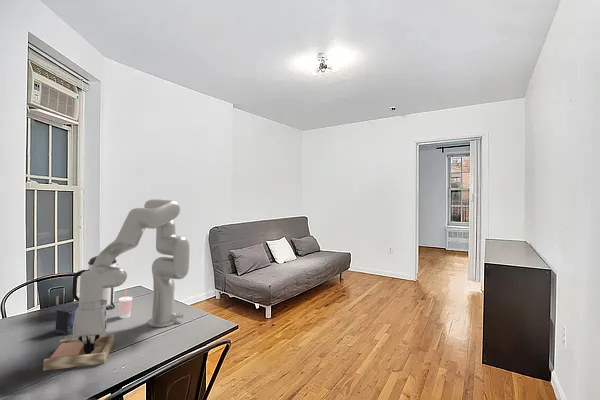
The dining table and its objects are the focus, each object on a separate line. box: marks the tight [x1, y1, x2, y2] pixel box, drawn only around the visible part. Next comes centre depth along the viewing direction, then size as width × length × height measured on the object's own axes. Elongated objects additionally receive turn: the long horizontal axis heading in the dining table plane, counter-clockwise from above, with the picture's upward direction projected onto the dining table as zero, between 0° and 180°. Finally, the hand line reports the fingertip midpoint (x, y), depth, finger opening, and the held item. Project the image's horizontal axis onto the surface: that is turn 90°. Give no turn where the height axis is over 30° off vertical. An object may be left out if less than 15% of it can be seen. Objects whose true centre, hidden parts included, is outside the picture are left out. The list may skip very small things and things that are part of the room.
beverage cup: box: [118, 287, 133, 319], centre depth 158 cm, size 6×6×14 cm
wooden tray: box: [42, 334, 115, 371], centre depth 117 cm, size 18×16×4 cm
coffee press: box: [71, 255, 120, 310], centre depth 167 cm, size 17×16×30 cm
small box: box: [54, 302, 79, 336], centre depth 140 cm, size 11×6×10 cm, turn 168°
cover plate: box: [49, 342, 84, 358], centre depth 116 cm, size 8×11×3 cm
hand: (88, 352), depth 118 cm, fingers closed
